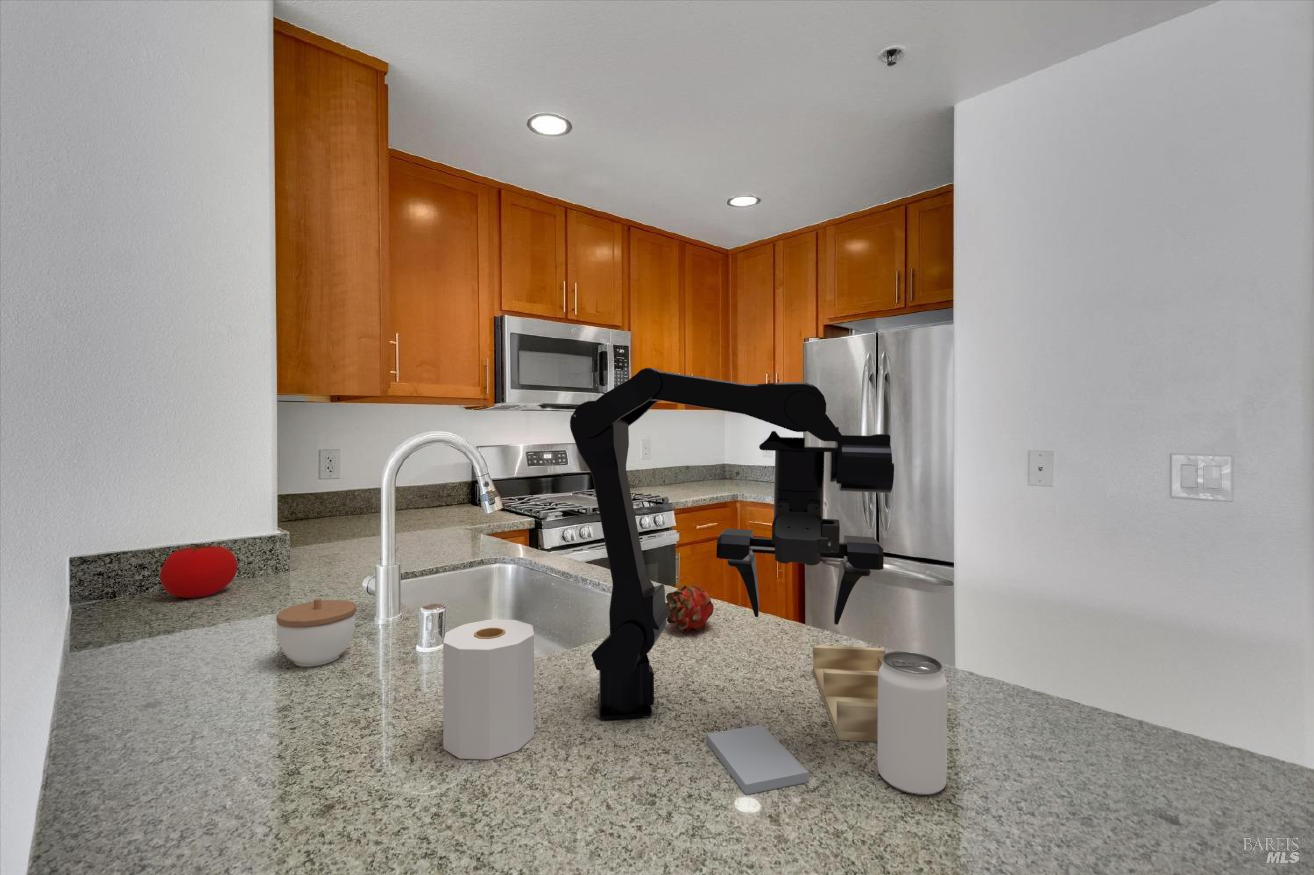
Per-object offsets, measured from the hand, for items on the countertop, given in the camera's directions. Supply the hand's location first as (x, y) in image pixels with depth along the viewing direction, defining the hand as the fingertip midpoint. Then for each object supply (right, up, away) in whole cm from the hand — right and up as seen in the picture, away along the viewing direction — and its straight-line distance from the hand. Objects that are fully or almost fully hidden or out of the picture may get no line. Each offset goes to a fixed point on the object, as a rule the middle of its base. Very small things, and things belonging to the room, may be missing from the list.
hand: (795, 619), depth 70 cm
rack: (+10, -13, +6) cm, 18 cm away
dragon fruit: (-11, -13, +36) cm, 40 cm away
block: (-6, -13, -7) cm, 16 cm away
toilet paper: (-36, -13, -2) cm, 38 cm away
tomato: (-115, -13, +56) cm, 129 cm away
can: (+9, -13, -10) cm, 19 cm away
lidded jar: (-69, -13, +21) cm, 74 cm away
